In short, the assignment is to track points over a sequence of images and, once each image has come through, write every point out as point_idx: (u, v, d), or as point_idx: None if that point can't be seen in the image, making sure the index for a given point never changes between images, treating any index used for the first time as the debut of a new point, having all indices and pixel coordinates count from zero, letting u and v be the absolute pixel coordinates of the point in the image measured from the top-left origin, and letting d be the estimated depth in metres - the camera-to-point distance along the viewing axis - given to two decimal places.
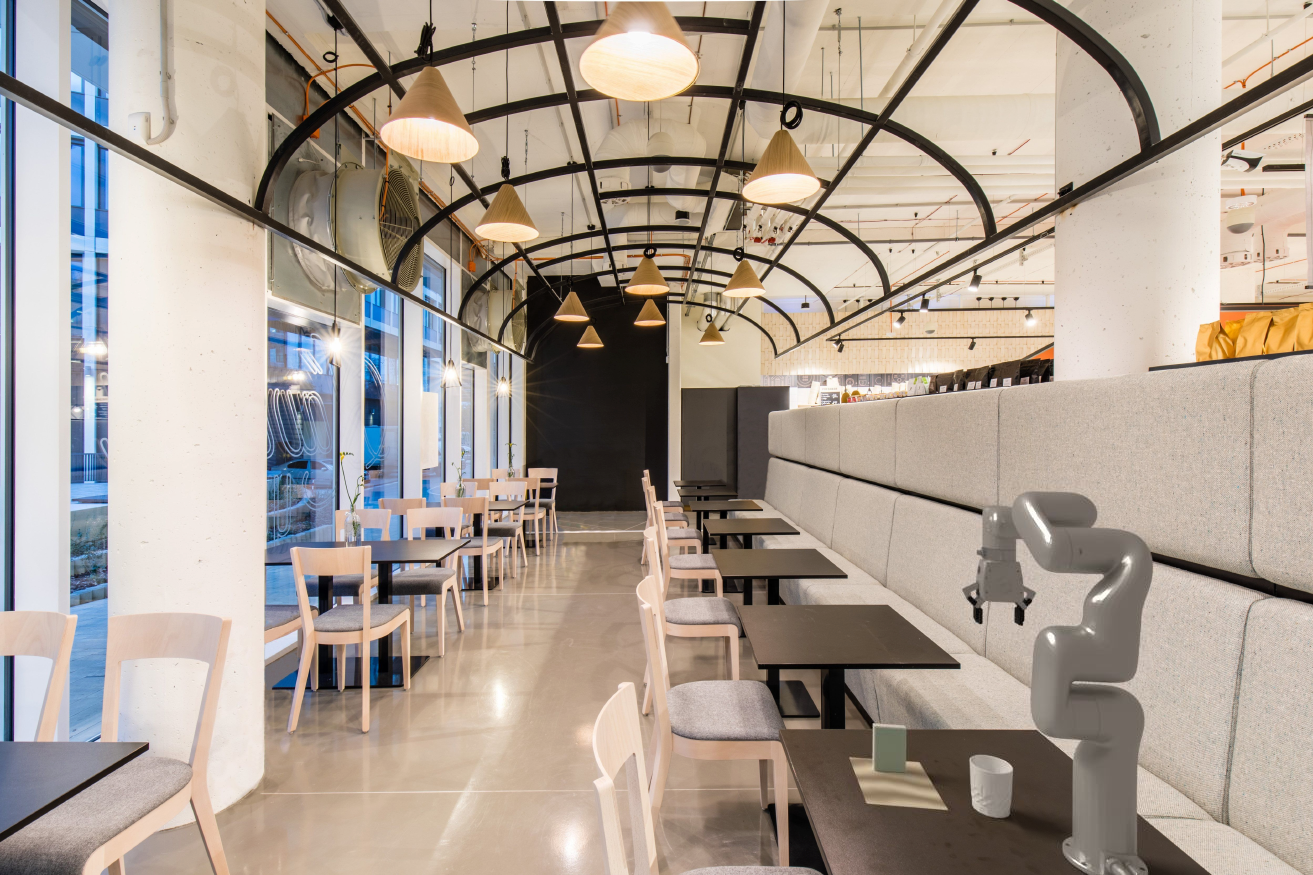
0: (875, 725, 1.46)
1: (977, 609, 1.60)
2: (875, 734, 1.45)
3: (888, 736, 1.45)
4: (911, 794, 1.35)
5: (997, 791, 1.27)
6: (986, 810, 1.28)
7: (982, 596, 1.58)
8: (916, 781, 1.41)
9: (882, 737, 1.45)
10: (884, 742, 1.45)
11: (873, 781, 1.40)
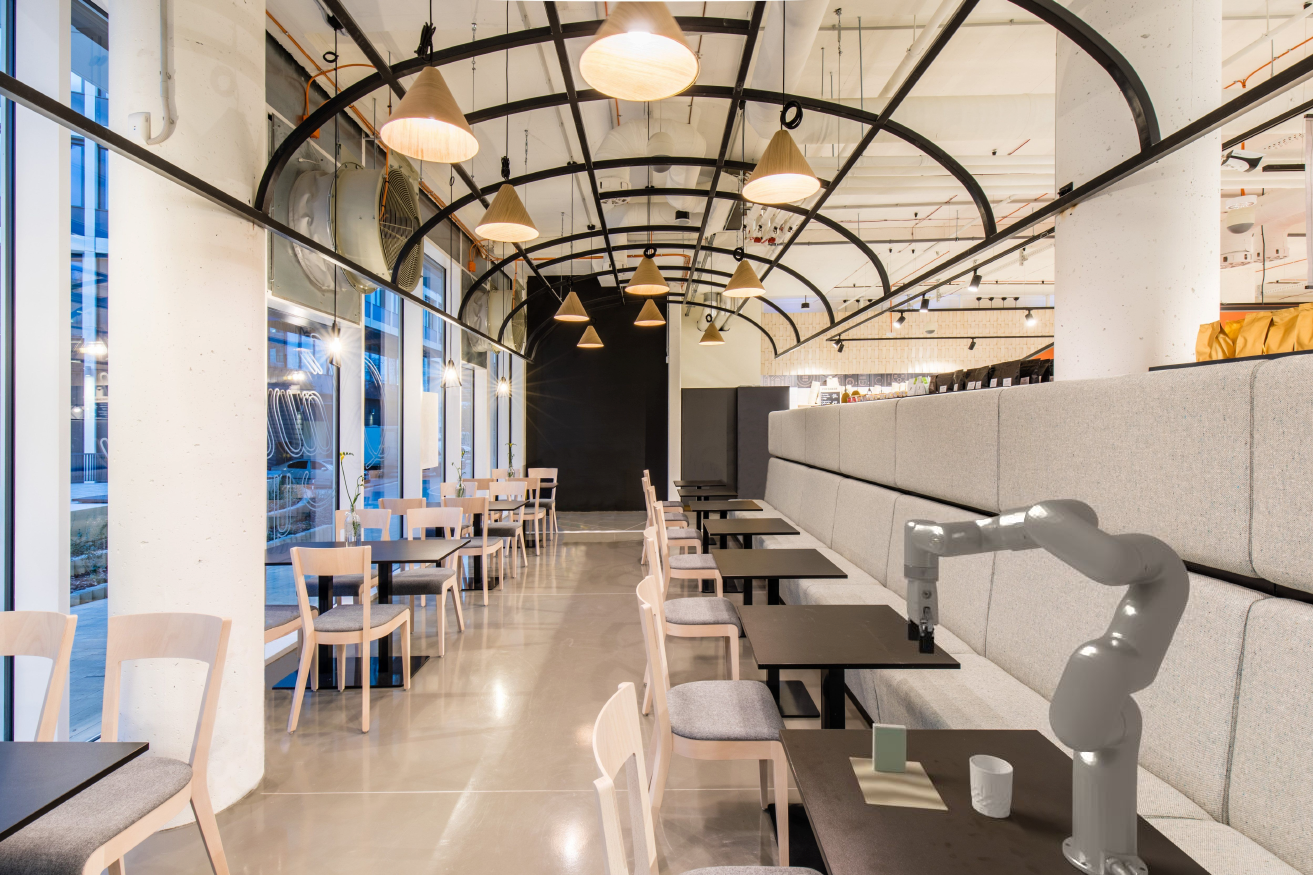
0: (875, 725, 1.46)
1: (930, 638, 1.43)
2: (875, 734, 1.45)
3: (888, 736, 1.45)
4: (911, 794, 1.35)
5: (997, 791, 1.27)
6: (986, 810, 1.28)
7: (937, 622, 1.43)
8: (916, 781, 1.41)
9: (882, 737, 1.45)
10: (884, 742, 1.45)
11: (873, 781, 1.40)
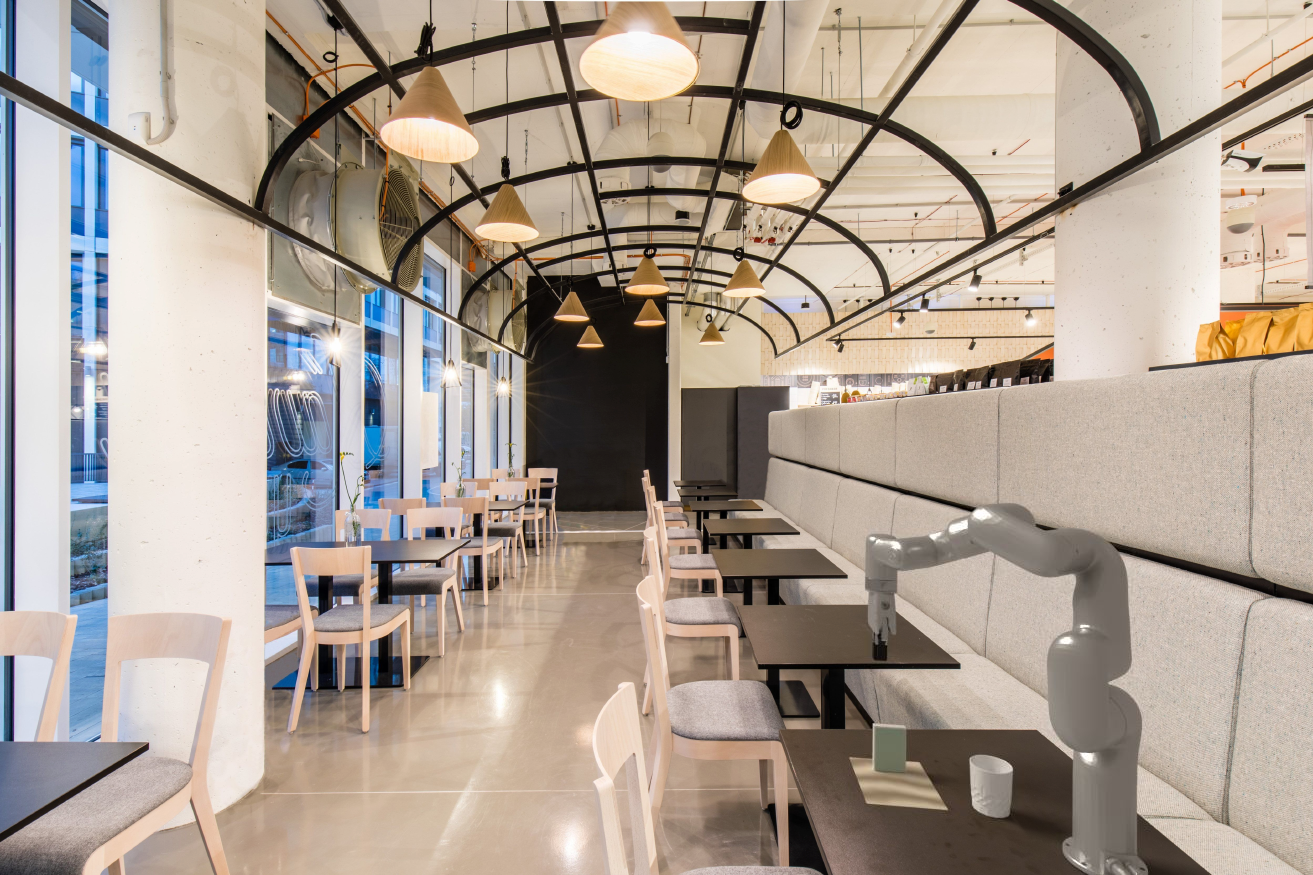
0: (875, 725, 1.46)
1: None
2: (875, 734, 1.45)
3: (888, 736, 1.45)
4: (911, 794, 1.35)
5: (997, 791, 1.27)
6: (986, 810, 1.28)
7: (894, 631, 1.52)
8: (916, 781, 1.41)
9: (882, 737, 1.45)
10: (884, 742, 1.45)
11: (873, 781, 1.40)
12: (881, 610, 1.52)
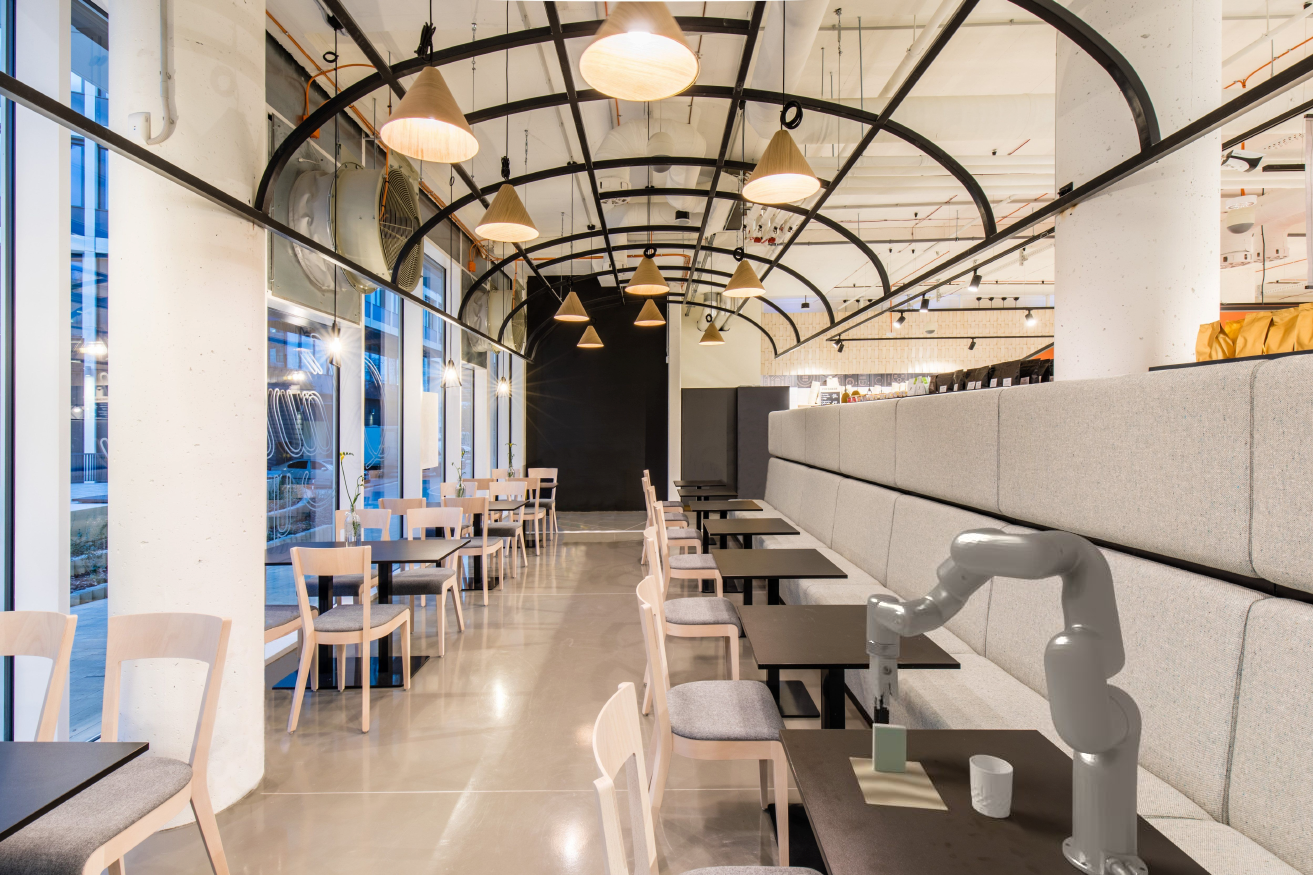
0: (875, 725, 1.46)
1: None
2: (875, 734, 1.45)
3: (888, 736, 1.45)
4: (911, 794, 1.35)
5: (997, 791, 1.27)
6: (986, 810, 1.28)
7: (897, 697, 1.48)
8: (916, 781, 1.41)
9: (882, 737, 1.45)
10: (884, 742, 1.45)
11: (873, 781, 1.40)
12: (883, 675, 1.48)
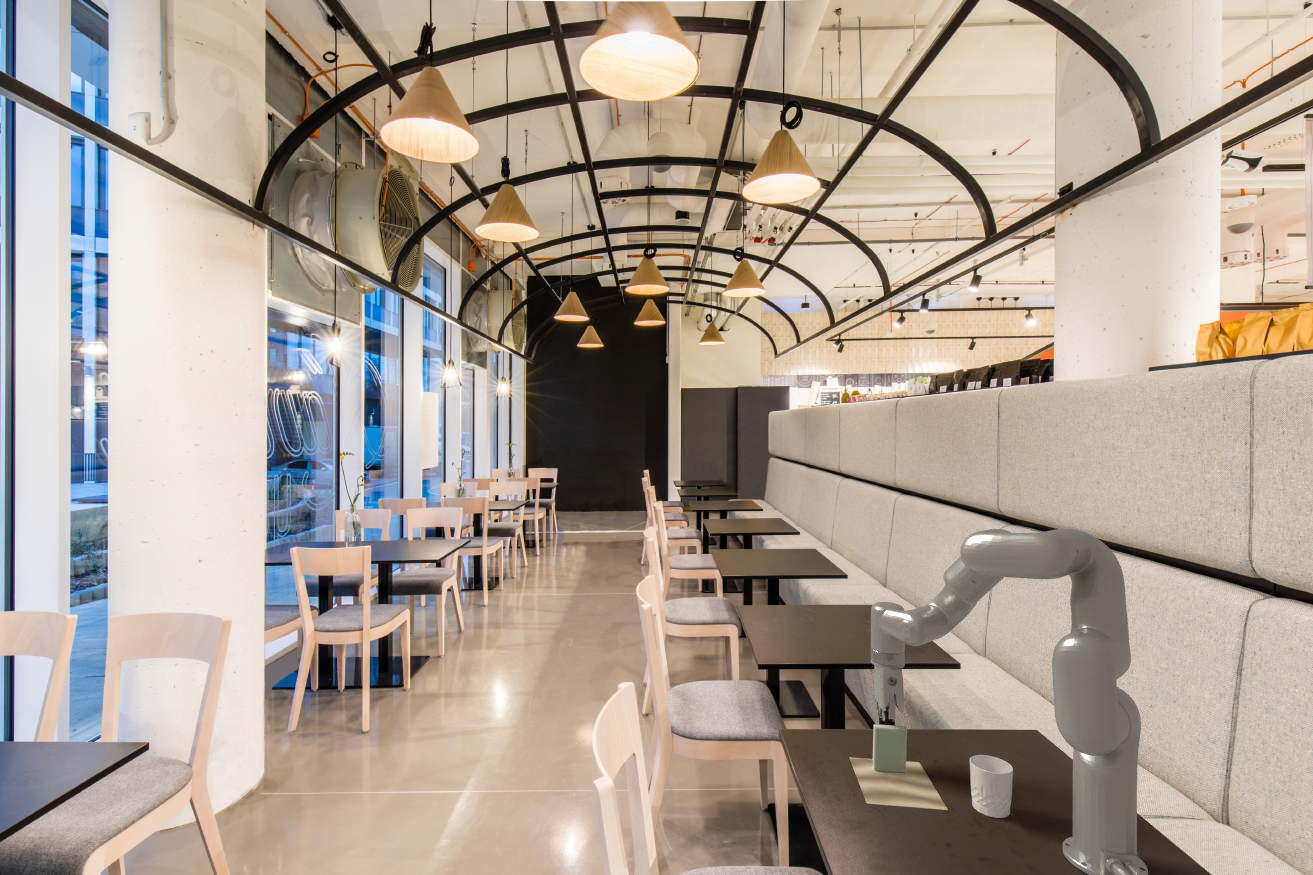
0: (876, 726, 1.45)
1: (891, 723, 1.47)
2: (875, 735, 1.45)
3: (889, 737, 1.44)
4: (911, 794, 1.35)
5: (997, 791, 1.27)
6: (986, 810, 1.28)
7: (902, 709, 1.43)
8: (916, 781, 1.41)
9: (883, 738, 1.44)
10: (884, 743, 1.44)
11: (873, 781, 1.40)
12: (888, 686, 1.44)
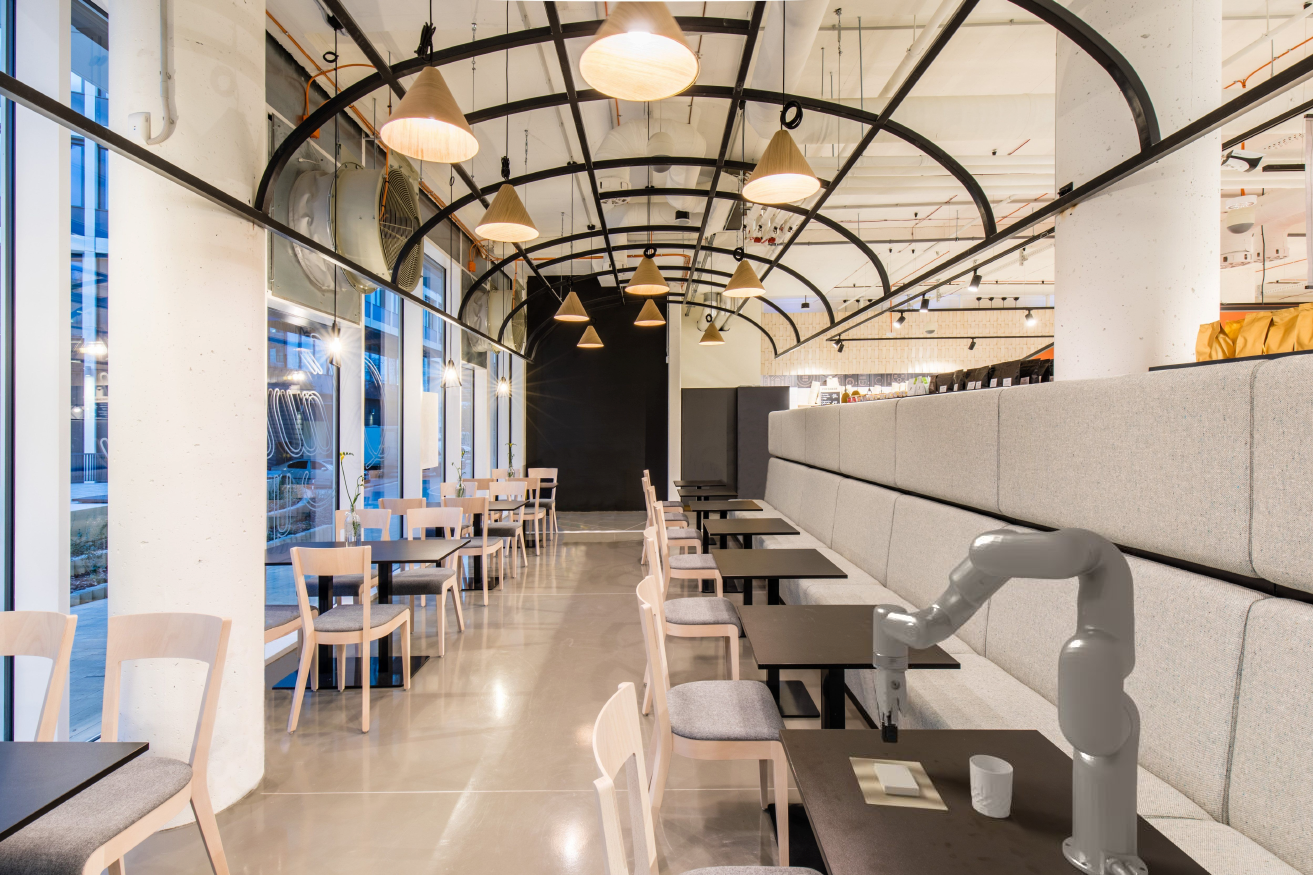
0: (886, 790, 1.35)
1: None
2: (883, 789, 1.37)
3: None
4: None
5: (997, 791, 1.27)
6: (986, 810, 1.28)
7: (906, 713, 1.41)
8: (916, 781, 1.41)
9: None
10: None
11: (873, 781, 1.40)
12: (891, 690, 1.41)
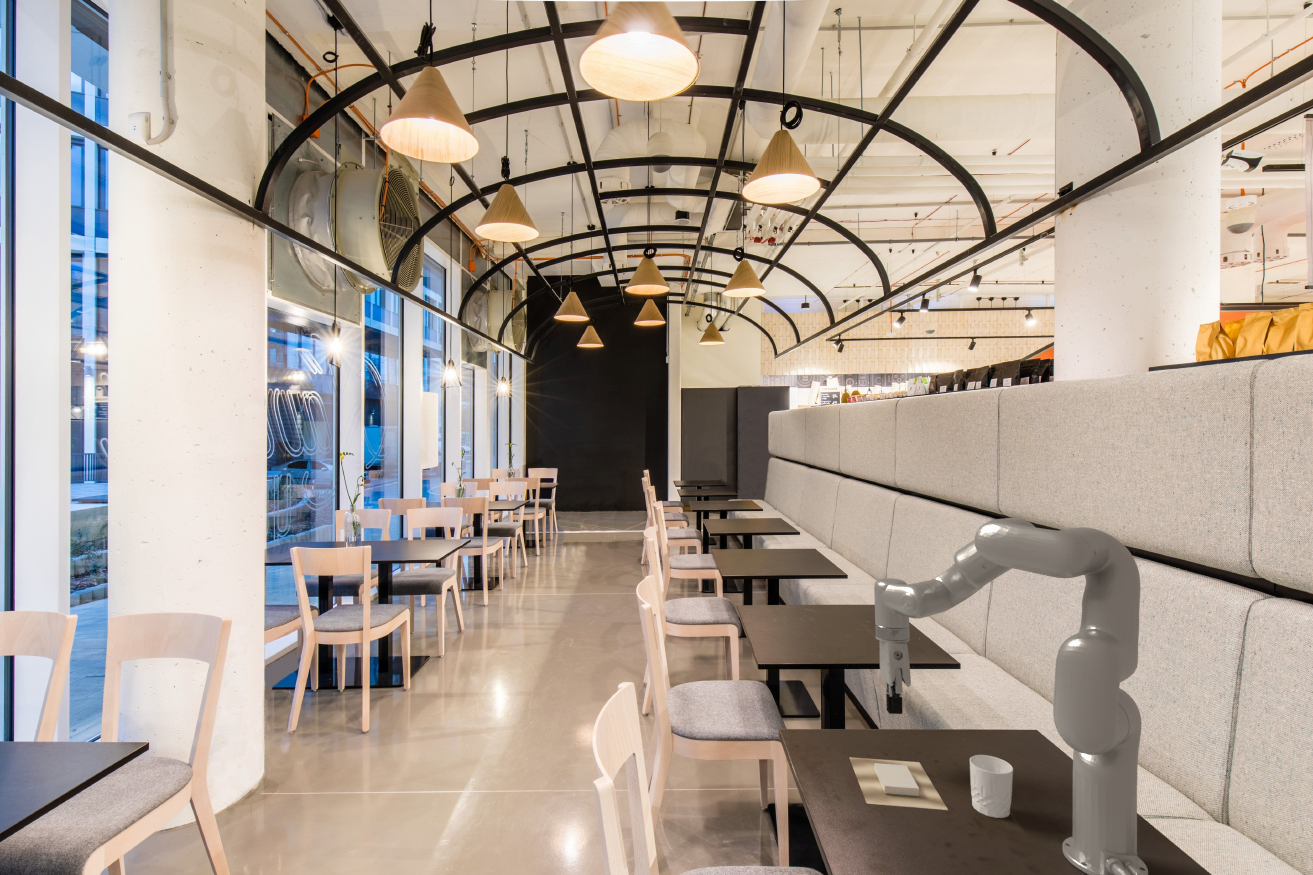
0: (886, 790, 1.35)
1: (898, 698, 1.48)
2: (883, 789, 1.37)
3: None
4: None
5: (997, 791, 1.27)
6: (986, 810, 1.28)
7: (909, 683, 1.44)
8: (916, 781, 1.41)
9: None
10: None
11: (873, 781, 1.40)
12: (894, 660, 1.45)
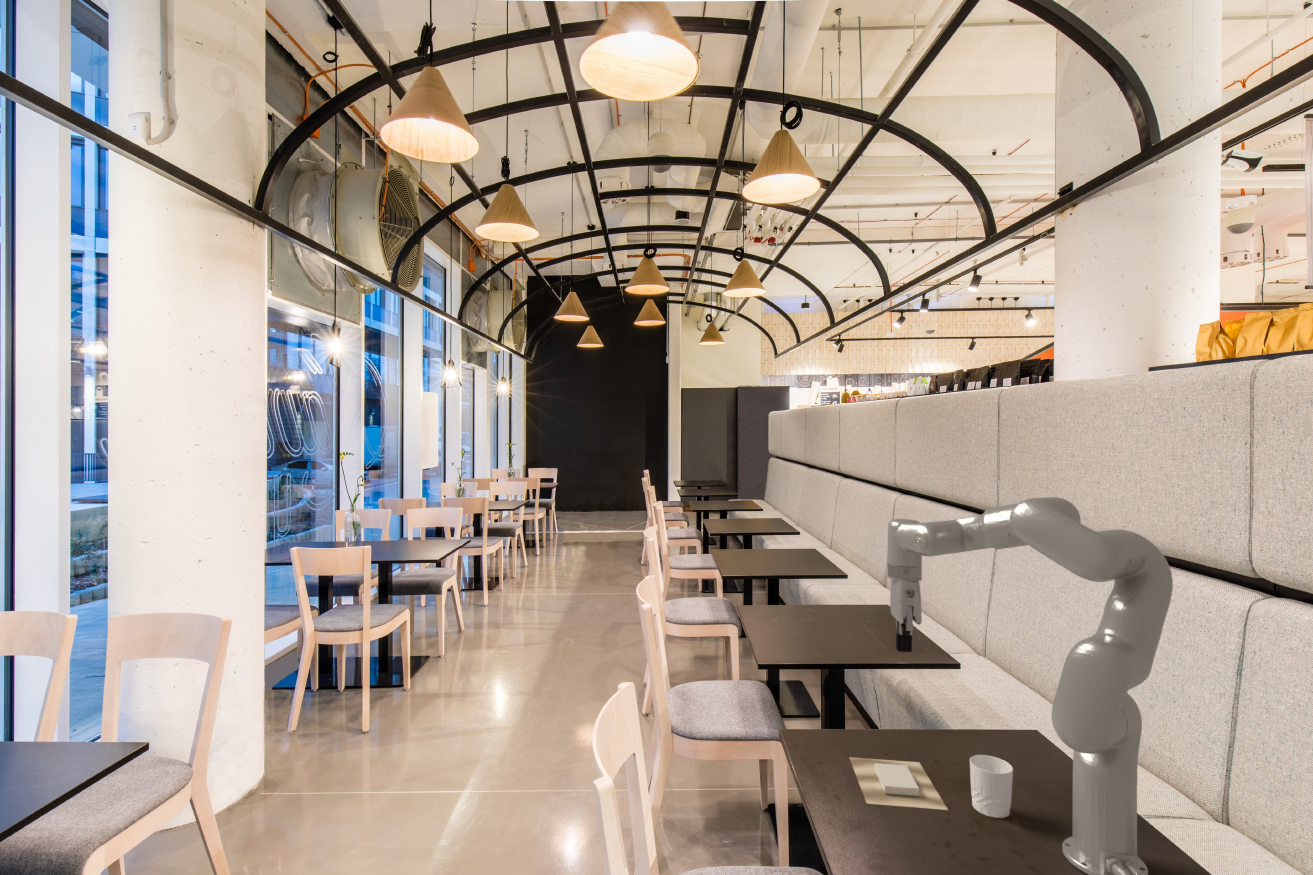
0: (886, 790, 1.35)
1: (908, 637, 1.48)
2: (883, 789, 1.37)
3: None
4: None
5: (997, 791, 1.27)
6: (986, 810, 1.28)
7: (920, 620, 1.44)
8: (916, 781, 1.41)
9: None
10: None
11: (873, 781, 1.40)
12: (905, 598, 1.45)
